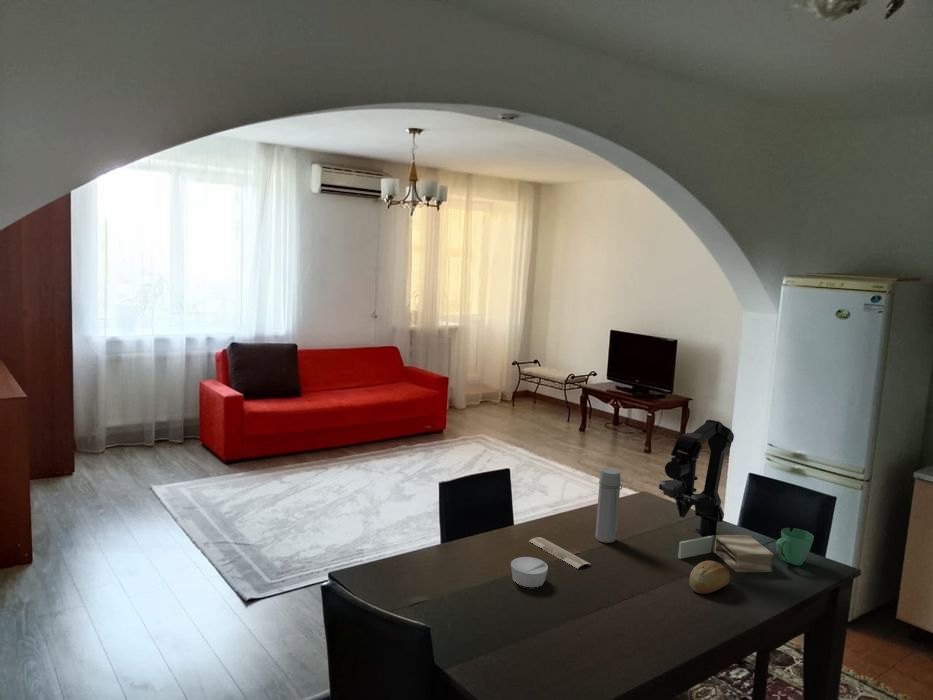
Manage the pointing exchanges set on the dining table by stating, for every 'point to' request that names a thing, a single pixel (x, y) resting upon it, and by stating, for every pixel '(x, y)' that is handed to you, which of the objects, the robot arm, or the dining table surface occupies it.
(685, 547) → the door
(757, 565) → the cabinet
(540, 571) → the ramekin
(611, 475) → the water bottle
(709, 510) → the robot arm
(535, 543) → the newspaper
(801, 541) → the mug
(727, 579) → the bread roll
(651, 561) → the dining table surface
